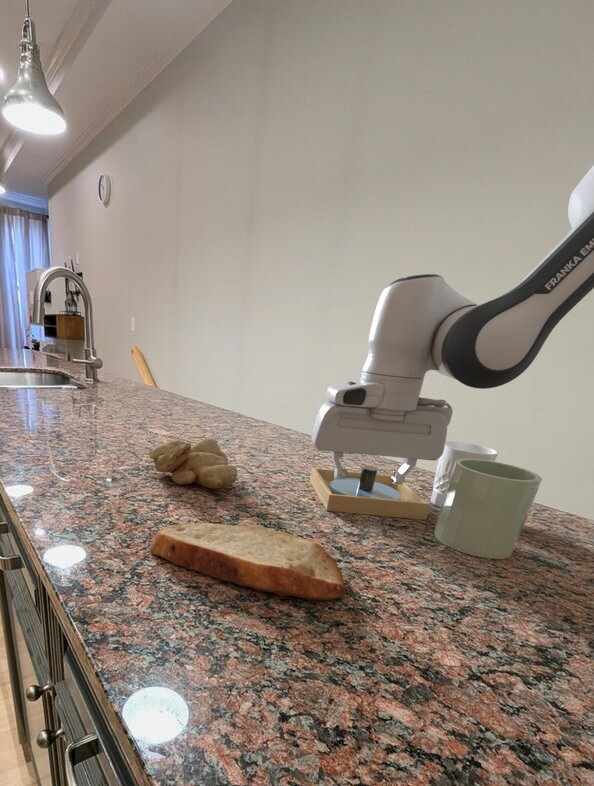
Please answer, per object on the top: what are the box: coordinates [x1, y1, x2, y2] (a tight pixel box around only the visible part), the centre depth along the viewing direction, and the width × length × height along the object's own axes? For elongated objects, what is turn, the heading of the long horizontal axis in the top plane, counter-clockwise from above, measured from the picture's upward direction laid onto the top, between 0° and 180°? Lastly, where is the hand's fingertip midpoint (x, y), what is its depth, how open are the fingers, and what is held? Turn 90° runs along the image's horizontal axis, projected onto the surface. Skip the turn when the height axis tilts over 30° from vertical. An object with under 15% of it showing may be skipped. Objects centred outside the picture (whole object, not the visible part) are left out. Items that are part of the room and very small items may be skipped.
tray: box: [309, 467, 431, 521], centre depth 74 cm, size 15×14×3 cm
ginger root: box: [148, 438, 238, 490], centre depth 75 cm, size 16×16×8 cm
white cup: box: [430, 441, 499, 508], centre depth 73 cm, size 8×8×10 cm
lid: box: [330, 465, 401, 500], centre depth 73 cm, size 11×11×5 cm
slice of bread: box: [149, 522, 347, 601], centre depth 48 cm, size 18×18×4 cm
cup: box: [433, 459, 543, 560], centre depth 59 cm, size 10×10×10 cm
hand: (367, 480), depth 73 cm, fingers open, 8 cm apart
